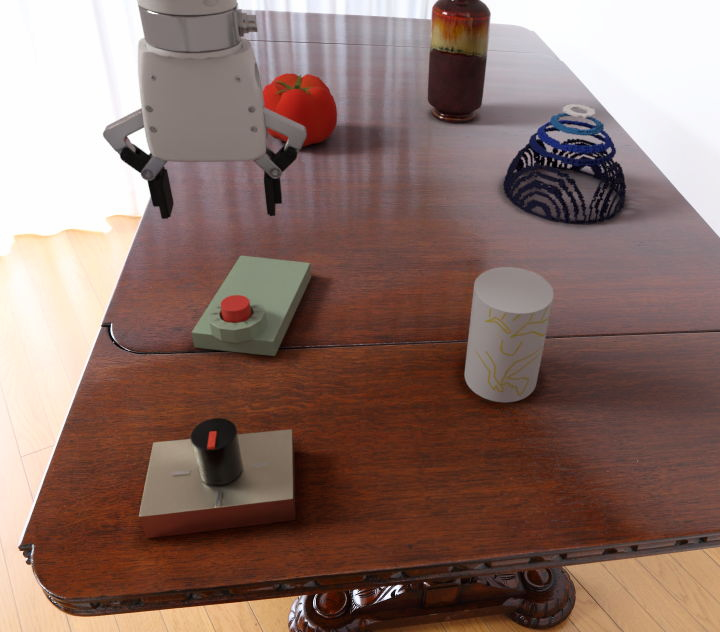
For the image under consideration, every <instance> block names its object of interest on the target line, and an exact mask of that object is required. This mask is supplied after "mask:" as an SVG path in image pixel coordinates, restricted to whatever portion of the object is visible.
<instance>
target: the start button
mask: <svg viewBox="0 0 720 632" xmlns="http://www.w3.org/2000/svg"><path fill="white" fill-rule="evenodd" d="M221 311H222V317H223V319H224V320H225V321H226V322H229V323H239V322H244V321H246V320H248V319H249V318H250V316H251V309H250V301H249V299H248V298H247V297H245V296H242V295H232V296H229V297H226V298H225V299H223V300H222V302H221Z"/></svg>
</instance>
